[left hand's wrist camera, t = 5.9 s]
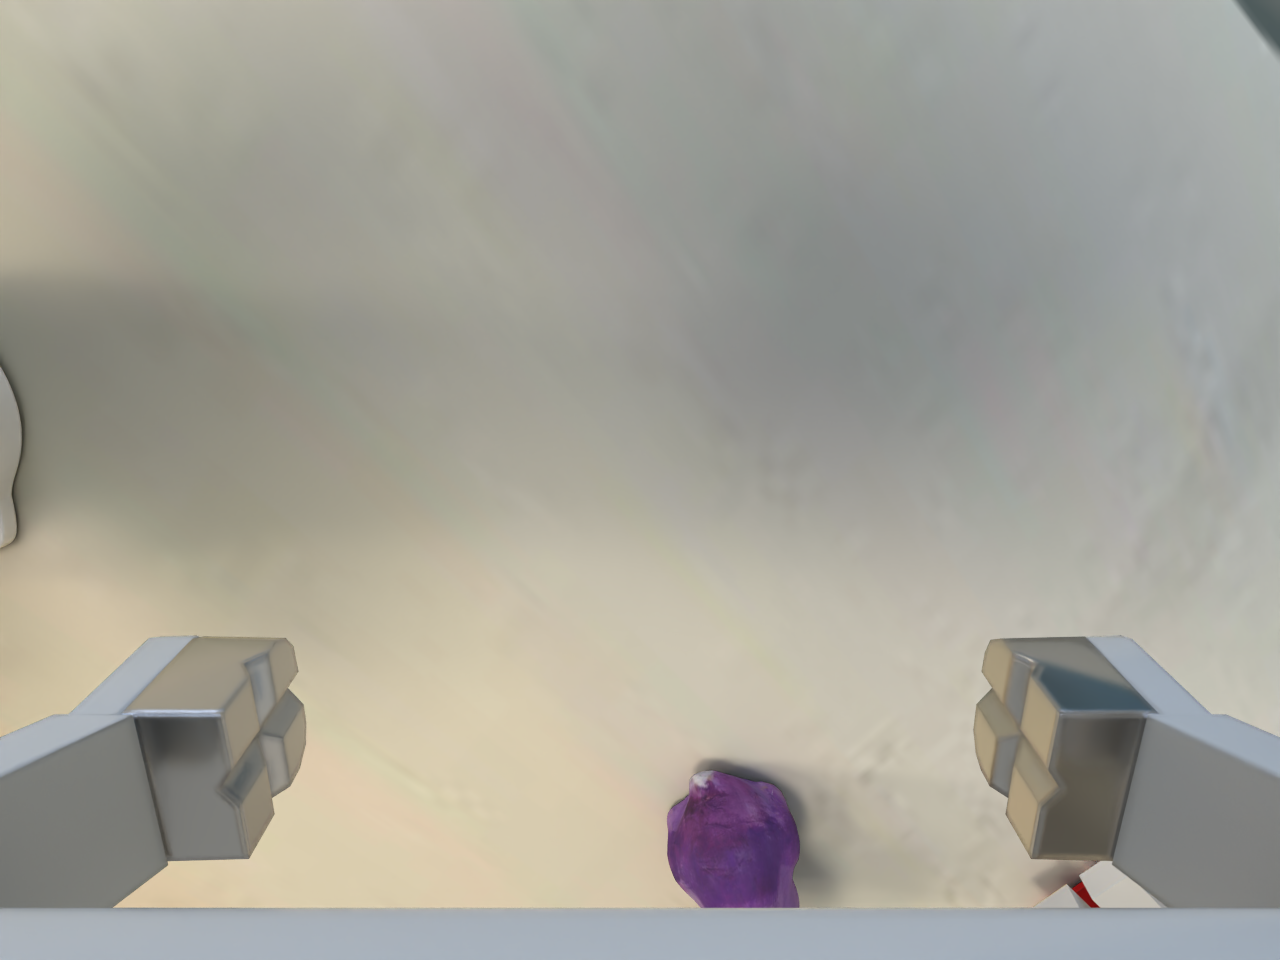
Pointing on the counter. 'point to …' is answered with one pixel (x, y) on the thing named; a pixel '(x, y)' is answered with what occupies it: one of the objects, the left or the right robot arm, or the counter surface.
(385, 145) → the counter surface
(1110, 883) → the toy
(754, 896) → the figurine
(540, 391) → the counter surface
